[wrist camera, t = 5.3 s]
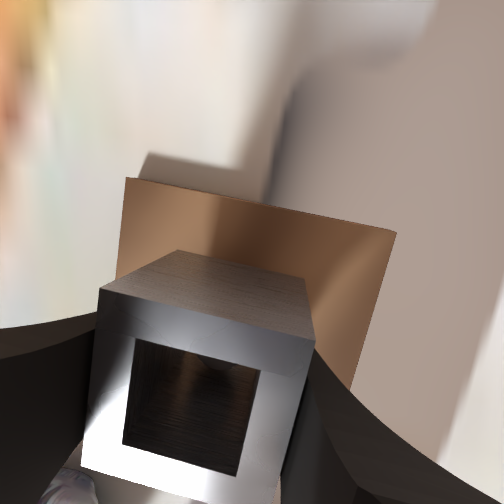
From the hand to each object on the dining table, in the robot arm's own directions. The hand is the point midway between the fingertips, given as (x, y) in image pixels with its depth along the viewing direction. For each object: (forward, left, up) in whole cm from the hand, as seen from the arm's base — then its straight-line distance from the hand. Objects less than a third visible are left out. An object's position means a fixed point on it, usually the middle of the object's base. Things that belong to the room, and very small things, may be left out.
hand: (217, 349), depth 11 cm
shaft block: (0, 0, -5) cm, 5 cm away
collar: (0, 0, -2) cm, 2 cm away
